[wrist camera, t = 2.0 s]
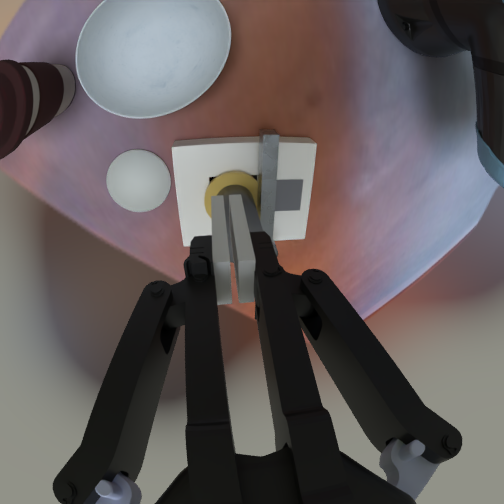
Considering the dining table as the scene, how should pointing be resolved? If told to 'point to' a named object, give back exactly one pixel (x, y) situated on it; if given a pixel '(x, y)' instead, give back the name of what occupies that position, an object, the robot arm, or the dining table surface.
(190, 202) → the socket block
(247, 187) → the plug
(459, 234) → the dining table surface
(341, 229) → the dining table surface
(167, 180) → the mat
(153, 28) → the chinaware
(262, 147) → the grey lever handle
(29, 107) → the coffee cup
